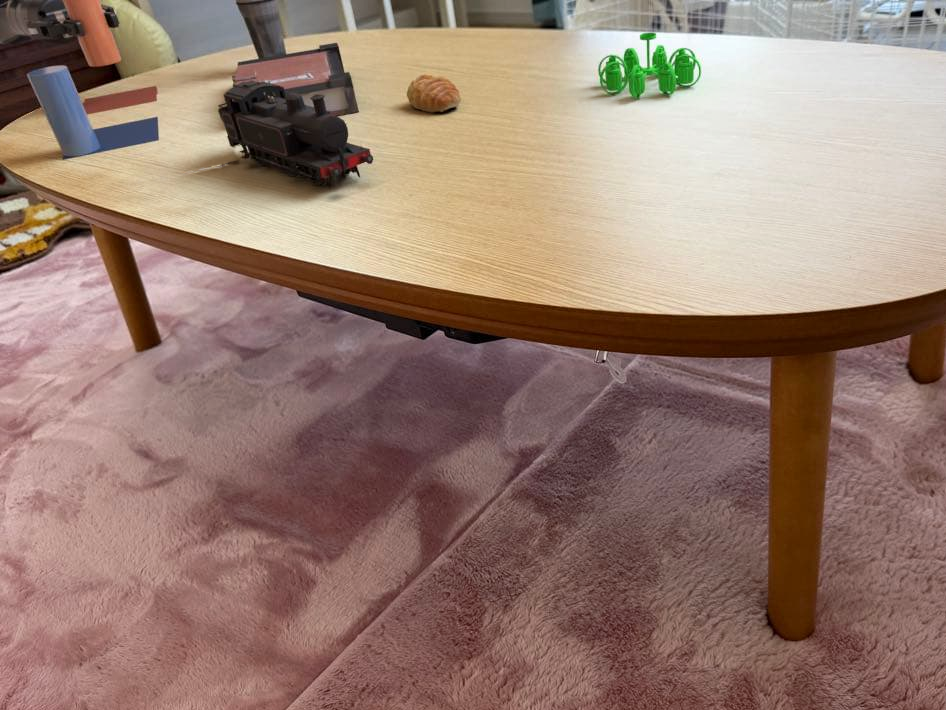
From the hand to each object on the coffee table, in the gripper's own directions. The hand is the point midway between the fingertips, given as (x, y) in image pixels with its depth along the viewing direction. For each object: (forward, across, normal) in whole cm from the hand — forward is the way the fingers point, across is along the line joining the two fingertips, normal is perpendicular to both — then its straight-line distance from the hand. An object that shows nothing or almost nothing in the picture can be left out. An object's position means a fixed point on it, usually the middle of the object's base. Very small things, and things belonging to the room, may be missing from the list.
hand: (98, 24), depth 130 cm
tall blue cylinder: (+20, -18, +12) cm, 30 cm away
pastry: (+56, +18, +13) cm, 60 cm away
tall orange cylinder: (-3, 0, +6) cm, 7 cm away
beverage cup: (+8, +25, +13) cm, 29 cm away
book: (+30, +12, +13) cm, 35 cm away
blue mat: (+18, -12, +12) cm, 25 cm away
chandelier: (+81, +36, +12) cm, 89 cm away
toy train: (+58, -9, +12) cm, 60 cm away
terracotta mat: (-2, 0, +13) cm, 13 cm away
